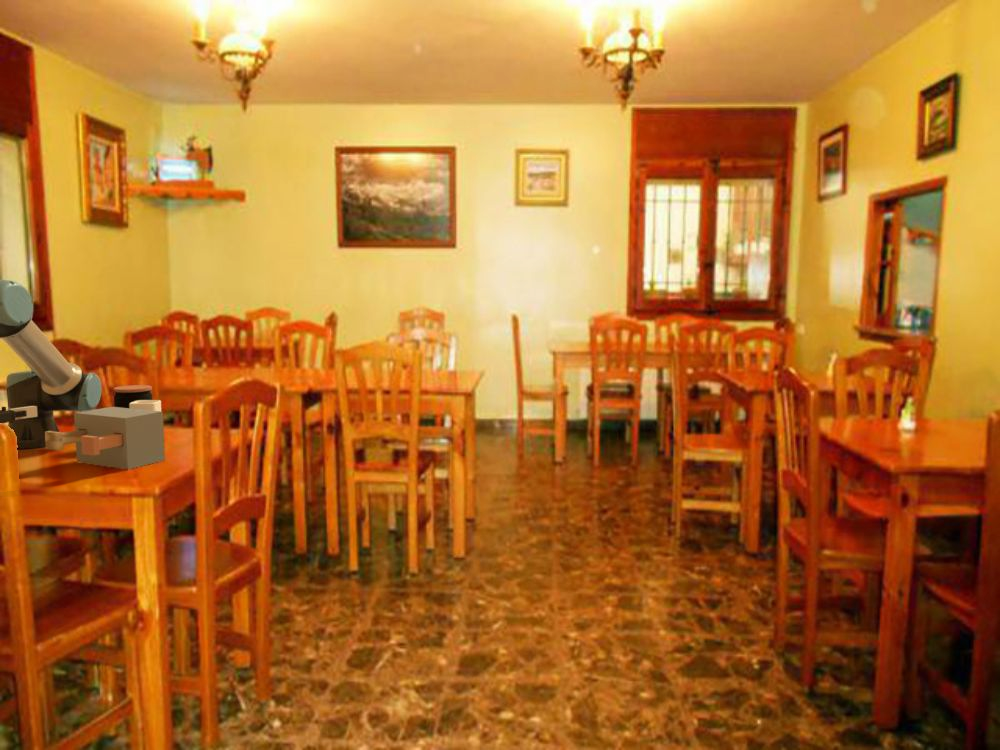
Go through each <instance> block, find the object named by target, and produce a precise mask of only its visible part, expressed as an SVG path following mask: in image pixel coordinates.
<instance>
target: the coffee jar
mask: <svg viewBox="0 0 1000 750" xmlns="http://www.w3.org/2000/svg"><path fill="white" fill-rule="evenodd" d="M152 389H153V386H152V385H147V384H145V385H144V384H139V385H138V384H134V385H133V384H132V385H122V386H116V387H114V388H113V392H114V393H115V394H114V395H113V407H120V408H129V403H131V402H134V401H138V400H154V399H153V394H152Z"/></svg>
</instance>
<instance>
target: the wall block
mask: <svg viewBox="0 0 1000 750" xmlns="http://www.w3.org/2000/svg"><path fill="white" fill-rule="evenodd" d="M163 412H164V411H162V410H161V411H152V410H141V409H131V408H120V407H114V406H109V407H103V408H94V409H92V410H89V411H82V412H79V411H75V412H74V413H73V419H74V421H73V422H74V431H75V430H80V429H86V430H87V435H88V436H97V437H101V436H107V435H112V434H117V433H120V434H123V445H121V446H116V447H111V448H107V449H102V450H99V452H100V454H99V455H87V454H82V445H81V442H77V443H75V453H76V463H77V462H81V463H80V464H83V463H89V464H88V465H90V464H95V465H94V466H97V465H101V466H100V467H104V466H108V467H107V468H111V467H116V468H115V469H118V468H123V469H122V470H125V469H130V470H132V468H134V469H137V468H136V467H138V468H141V467H140V466H142V467H145V466H144V465H146V466H149V465H148V464H150V465H153V464H152V463H154V464H157V463H156V462H158V463H161V461H162V462H164V461H166V455H165V454H166V453H165V434H164V432H165V430H164V413H163Z"/></svg>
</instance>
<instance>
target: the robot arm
mask: <svg viewBox="0 0 1000 750" xmlns="http://www.w3.org/2000/svg"><path fill="white" fill-rule="evenodd" d="M32 300H33V298H32V295H31V293H30V292H29V291H28V289H27V288H26V287H25V286H24V285H22V284H21V283H20V282H18V281H15V280H6V279H2V278H1V279H0V339H2V340H3V341H4V342H5V343H6V344H7V345H8V346H9V348H10V349H12V351H13V352H14V353H15V354H16V355H17V356H18V357H19V358H20V359H21V360H22V361H23V362H24V363H25V364H26V366H27V367H28V368H29V369H30V370H25V371H24V370H23V371H18V372H13V373H12V372H11V373H9V374H8V375H7V377H6V381H5V383H6V386H5V390H6V399H7V406H1V409H0V423H2V424H6V423H7V427H8V426H9V427H10V428H11V429H13V430H14V432H15V434H16V436H17V445H18V449H19V450H22V449H24V450H25V449H36V448H38V449H39V448H46V442H45V432H47V431H55V432H61V431H60V430H59V428H58V425H57V423H56V420H55V418H54V412H83V411H89V410H95V409H96V408H97V406H98V404H99V403H100V399H101V396H102V381H101V379H100V377H99V376H98V374H96V373H92V372H89V373H88V372H87V373H85V372H84V371H83V369H82V368H81V367H80V366H79V365H78V364H76V363H74V362H68V360H67V359H66V358H65V357H64V356H63V355H62V353H61V352H60V351H59V350H58V349H57V347H55V345H54V344H53V342H51V340H49V338H48V337H47V335H46V334H45V333H43V331H42V330H41V329H40V328H39V327H38V325H37V324H36V323H35V322H34V321H33V320H32V319H33V315H34V302H32ZM18 449H17V450H18Z"/></svg>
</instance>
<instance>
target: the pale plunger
mask: <svg viewBox="0 0 1000 750" xmlns="http://www.w3.org/2000/svg"><path fill="white" fill-rule="evenodd" d="M85 435H87V430H86V429H80V430H75V429H74V430H70V431H65V432H61V431H60V432H55V431H47V432H45V442H46V446H45V450H50V451H62V450H63V449H64V446H67V445H71V444H76V443H77V442H81V436H85Z"/></svg>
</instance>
